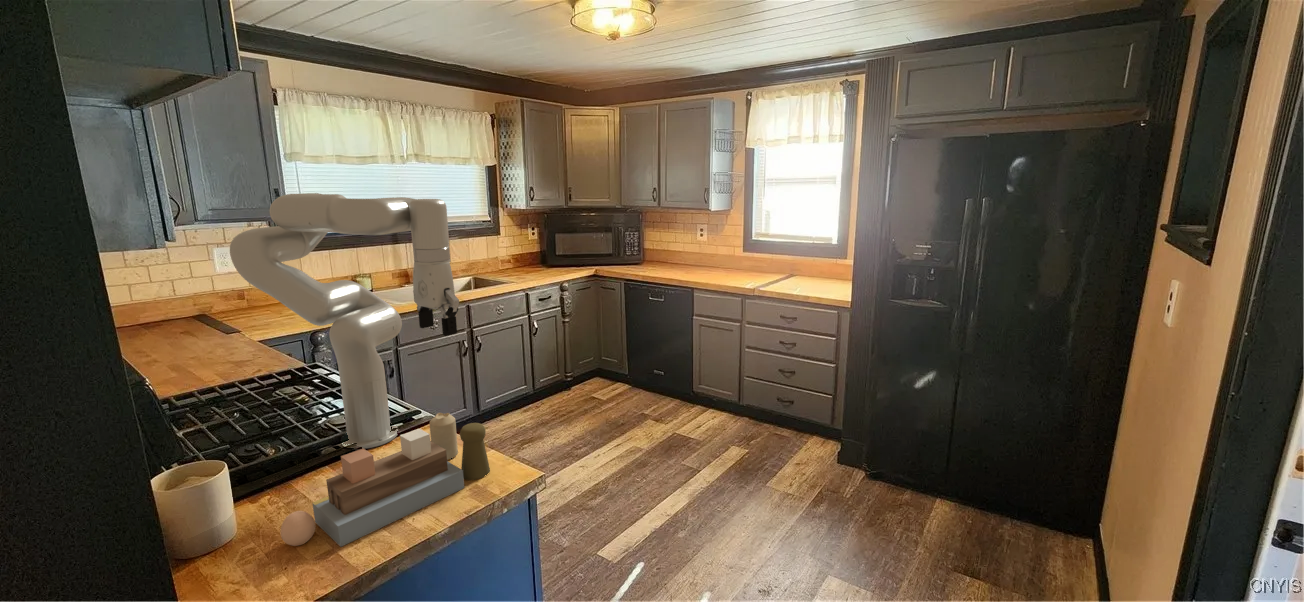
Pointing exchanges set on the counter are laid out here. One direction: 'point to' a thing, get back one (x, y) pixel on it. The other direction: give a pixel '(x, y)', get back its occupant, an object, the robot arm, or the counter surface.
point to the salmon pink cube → (358, 465)
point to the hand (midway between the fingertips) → (438, 330)
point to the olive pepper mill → (474, 452)
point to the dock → (385, 507)
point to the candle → (444, 433)
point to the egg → (297, 528)
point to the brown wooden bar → (385, 479)
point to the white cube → (415, 444)
